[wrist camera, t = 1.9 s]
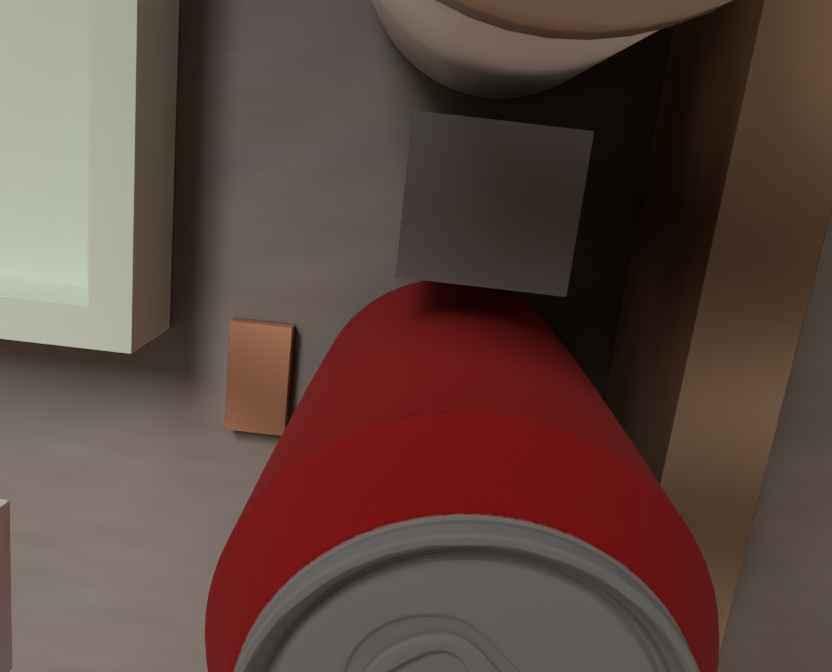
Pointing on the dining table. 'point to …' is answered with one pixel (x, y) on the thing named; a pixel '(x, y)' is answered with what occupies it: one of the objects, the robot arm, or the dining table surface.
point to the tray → (87, 170)
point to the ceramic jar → (522, 38)
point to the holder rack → (644, 254)
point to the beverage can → (458, 513)
